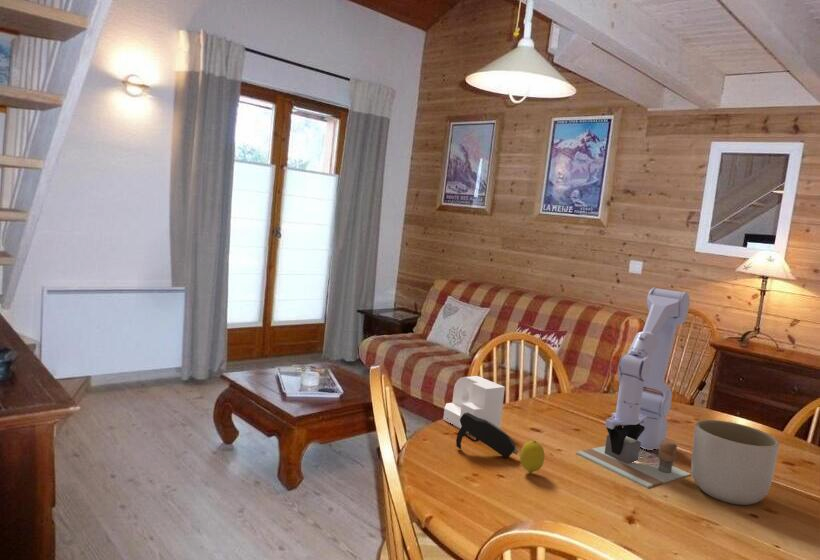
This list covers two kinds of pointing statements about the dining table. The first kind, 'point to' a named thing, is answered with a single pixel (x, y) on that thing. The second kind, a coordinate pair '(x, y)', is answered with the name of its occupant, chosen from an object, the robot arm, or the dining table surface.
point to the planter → (733, 461)
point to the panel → (632, 468)
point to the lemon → (532, 456)
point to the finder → (625, 450)
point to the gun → (485, 434)
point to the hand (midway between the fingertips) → (621, 451)
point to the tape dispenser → (475, 400)
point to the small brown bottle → (666, 456)
